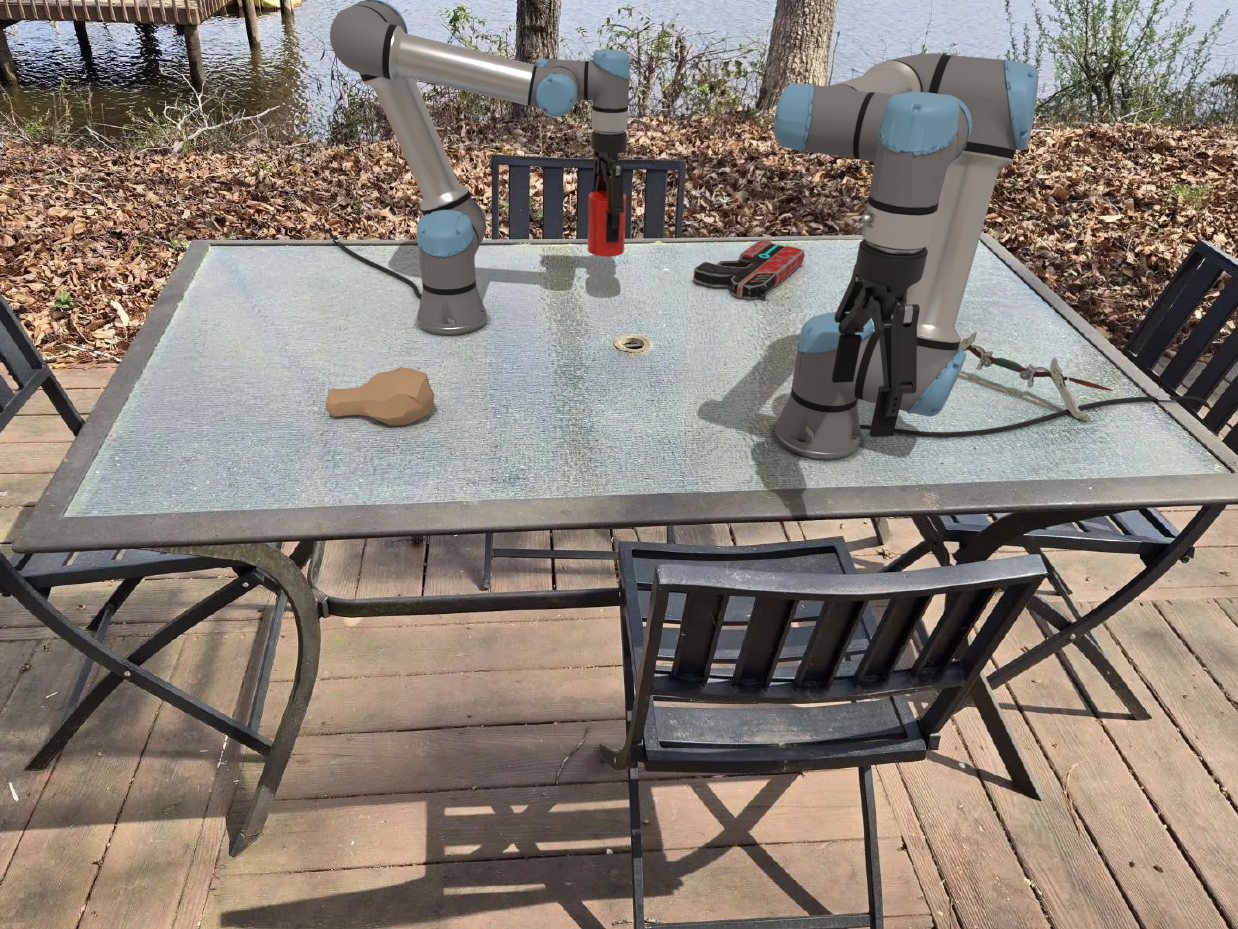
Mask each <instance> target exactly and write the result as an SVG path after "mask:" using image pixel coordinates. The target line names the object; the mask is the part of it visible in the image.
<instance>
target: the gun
mask: <svg viewBox="0 0 1238 929" xmlns="http://www.w3.org/2000/svg"><path fill="white" fill-rule="evenodd" d="M805 256H806V255H805V249H801V248H798V247H794V246H791V245H782V244H781V245H780V244H776V243H772V240H767V239H759V240H757V241H756V242H754V243H753V244H752V245H750V246H749V247H748V248H746V249H745V250H743V251H741V253H740V255H739V256H738V260H736V259H735V260H720V261H719V262H717V263H712V262H709V261H706V260H705V261H704V262H702V263H701V264H699V265H697V266H696V267H693V279H692V281H694V282H696V283H697V284H702V285H703V286H708V287H713V288H714V287H715V288H729V293H730V294H731V295H732V296H735V297H736V298H737V299H744V300H745V299H746V300H754V299H759V300H762V301H765V300H766V297H767V293H768V292H770V291H771V290H772V289H774V288H776V287H778V286H780V284H781V283H782V282H784V281H785V280H786V279H788V277H789V276H790V275H792V274H793V273H794V272H795V271H796V270H797V269H798V268H799V267H800V266H802V265H803V262H804V259H805Z"/></svg>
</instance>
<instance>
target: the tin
mask: <svg viewBox="0 0 1238 929" xmlns="http://www.w3.org/2000/svg"><path fill="white" fill-rule="evenodd" d="M623 199H624V212H623V213H620V219H619V242H606V228H607V214H606V211H609V209H608V198H607V190H602V191H594V192H592V191H591V192H590V193H589V194H588V198H587V200H588V202H587V204H588V206H587V207H588V208H587V252H588V253H590V254H591V255H594V256H597V257H605V258H611V257H617V256H620V255H622V254H624V252H625V238H626V217H627V216H626V215H627V194H626V193H623ZM616 208H617V207H616Z"/></svg>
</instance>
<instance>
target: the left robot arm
mask: <svg viewBox="0 0 1238 929" xmlns="http://www.w3.org/2000/svg"><path fill="white" fill-rule="evenodd" d="M408 31H409V30H408V26H407V24H406V21H405V19H404V16H402V14H401V12H399V11H398V10H397V8H395V6H393V5H392V4H390V3H388V2H386V1H384V0H360V1H359V2H357V3H355V4H353V5H351V6H349V7H346V8H344V9H342V10H341V11H339V12H338V13H337V14H336V16H335V17H334V19H333V20H332V23H331V26H330V29H329V41H330V45H331V49H332V51H333V54H334V55H335V57H336V59H338V61H339V62H340V63H341V64H342V65H344V66H345V67H346V68H348V69H349V70H351V71H354V72H355V73H358V74H359V76H360V79H361V81H362V83H363V84H365V85H367V86H370V87H371V88H373V90H374V92H375V93H376V96H377V99H378V100H379V102H380V105H381V107H382V109H383V112H384V114H385V116H386V118H387V121H388V123H389V125H390V128H391V130H392V132H393V135H394V137H395V139H396V141H397V143H398V145H399V148H400V151H401V152H402V154H403V156H404V159H405V161H406V163H407V166H408V169H409V170H410V172H411V175H412V177H413V179H414V181H415V183H416V186H417V188H418V190H419V192H420V195H421V197H422V199H421V201H420V205H419V209H420V211H421V213H422V217H421V218H420V219H419V220H418V222H417V225H416V237H415V238H416V243H417V247H418V258H419V267H420V275H421V276H420V278H421V284H422V292H421V293H420V290H419V288H418V286H417V284H416V283H414V281H412V280H410V279H409V278H407V277H406V276H403V275H401V274H400V273H397V272H395V271H393V270H391V269H389V268H386V267H385V266H382V265H380V264H378V263H376V262H374V261H371V260H369V259H368V258H366V257H363V256H362V255H360V254H358V253H356V252H354V251H353V250H351V249H349V247H346V246H345V245H344V244H343V243H342V242H340V241H339V239H338V238H337V237H336V236H335V234H334V233H333V232H332V230H331V229H330V228H328V227H327V228H325V230H324V234H328V236H329V237H330V238H331V239H332V240H333V241H334V240H338V241H339V242H336V241H334V242H335V244H336V245H337V246H338V247H339V248H340V249H341V250H343V251H344V252H346V253H347V254H349V255H350V256H351V257H353V258H356V259H357V260H359V261H361V262H362V263H364V264H367V265H369V266H372V267H374V268H376V269H377V270H379V271H382V272H385V273H387V274H388V275H391V276H392V277H394V278H397V279H399V280H400V281H402V282H404V283H406V284H407V285H409V286H411V288H412V289H413V291H414V293H415V295H416V297H417V298H419V299H420V302H419V305H418V310H417V315H416V318H417V325H418V326H419V328H420V329H421V330H423V331H424V332H427V333H430V334H433V335H440V336H459V335H465V334H469V333H473V332H476V331H477V330H480V329H481V328H483V327H484V326H485V325H486V323H487V320H488V316H487V310H486V306H485V304H484V302H483V299H482V298H481V295H480V293H479V291H478V288H477V278H476V277H477V276H476V262H475V259H476V258H475V257H476V255H477V252H478V250H479V248H480V246H481V244H482V243H483V241H484V239H485V235H486V230H487V220H486V216H485V215H486V214H485V212H484V210H483V209H482V207H481V206H480V204H479V203H478V202H477V201H475V200H474V199H473V197H472V195H471V192H470V189H469V188H468V187H467V186H465V185H463V184H461V183H460V182H459V181H458V179H457V176H456V174H455V171H454V169H453V166H452V164H451V162H450V160H449V157H448V155H447V153H446V150H445V147H444V146H443V143H442V140H441V138H440V135H439V133H438V131H437V129H436V126H435V124H434V122H433V119H432V117H431V114H430V113H429V110H428V107H427V104H426V103H425V100H424V97H423V95H422V93H421V91H420V88H419V85H418V83H417V81H420V82H426V83H429V84H434V85H438V86H443V87H447V88H450V89H456V90H459V91H464V92H468V93H472V94H476V95H480V96H485V97H489V98H493V99H498V100H502V101H506V102H510V103H515V104H519V105H523V106H527V107H528V106H529V107H531V108H535V109H538V110H541V111H542V112H543V113H544V114H545V115H547V116H549V117H551V118H552V117H553V118H554V117H555V118H559V117H564V116H565V115H567V114H568V113H569V112H570V111H571V110H572V109H573V107H574V106H576V105H575V104H576V102H577V101H591V102H592V107H591V128H592V132H591V149H592V150H593V170H592V181H591V182H592V183H591V192H594V191H602V190H607V198H608V209H609V211H606V214H607V228H606V242H619V219H620V213H623V212H624V199H623V194H624V172H625V167H624V165H623V164H621V162H620V159H619V154H620V153H623V152H625V151H626V149H627V141H628V140H627V139H628V133H627V132H626V131H627V129H628V119H630V113H628V112H629V93H630V57H629V55H628V54H627V53H626V51H624V50H623V51H622V50H620V49H619V50H617V49H598V50H596V51H594V53H593V56H592V60H573V59H558V58H553V57H552V58H539V59H537V60H536V61H535V64H533V63H529V62H525V61H521V60H516V59H513V58H508V57H505V56H499V55H495V54H492V53H488V52H484V51H480V50H476V49H471V48H468V47H463V46H459V45H455V44H452V43H451V44H450V43H448V42H447V43H446V42H442V41H438V40H435V39H430V38H425V37H422V36H418V35H413V34H410V33H408ZM416 80H417V81H416ZM616 207H617V208H616ZM338 243H340V244H338ZM341 243H342V244H341Z"/></svg>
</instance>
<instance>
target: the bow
mask: <svg viewBox="0 0 1238 929" xmlns="http://www.w3.org/2000/svg"><path fill="white" fill-rule="evenodd" d="M977 334H978V333H977V331H974V332H973V333H972V334H971V335H969V336H968V337H966V338H963V339H961V341H960V344H959V348H958V350H963V352H967V351H969V352H970V353H972V354H973V355H974V356H975V357H976V358H978V359H979V362H978V363H977V364H976V367H975V370H977V371H981V370H982V369H983V367H985V368H990V367H991V366H992V365H995V366H998V367H1000V368H1004V369H1007V370H1009V371H1012V372H1016V373H1019V378H1020V379H1021V380H1023V381H1027V382H1026V384H1027V385H1026V387H1027V388H1029V389H1032V387H1034V383H1035V380H1034V379H1035V378H1050V379H1051V381H1052V382H1053V383H1054V386H1055V387H1056V389H1057V390H1058V392H1059V394H1060V396H1061V399H1062V400H1063V403H1064V405H1065V407H1066V409H1068V410H1069V411H1070V412H1071V413H1068V414H1067V415H1069V416H1072V417H1073V418H1076V419H1077V420H1080V421H1084V422H1086V421H1089V419H1090V418H1091V417H1090V416H1088V414H1086V413H1085V412H1083V411H1082V410H1079V409H1078V406H1079V405H1078V403H1077V400H1076V398H1075V396H1074V395H1073V393H1072V391H1071V389H1070V388H1069V387H1068V386H1067V384H1066V381H1067V380H1068V381H1069V382H1072V383H1075V384H1078V385H1081V386H1084V387H1087V388H1092V389H1095V390H1101V391H1102V390H1103V391H1109V392H1113V391H1114V390H1113V389H1111V388H1110V387H1106V386H1103V385H1101V384H1100V385H1099V384H1097V383H1093V382H1091V381H1088V380H1084V379H1080V378H1075V377H1068V376H1066V375H1065V376H1064V374H1063V371H1062V368H1061V367H1060V366H1059V363H1058V358H1057V357H1053V358H1052V359H1051V362H1050V366H1049V369H1048V368H1047V367H1044V366H1036V367H1035V365H1033V364H1032V363H1030V364H1028V365H1027V366H1025V367H1023V366H1022V365H1021V364H1020V363H1019V362H1016V361H1014V360H1010V359H1007V358H1004V357H994V356H993V355H994V352H993V350H990V351H989V350H987V351H986V350H985V349H984V348H983V347H982V346H980V345H978V344H977V345H976V344H973V343H974V342H975V340H976V339H977V338H976V337H977ZM972 344H973V345H972ZM959 376H960V377H963V378H965V379H968V380H971V381H973V382H976V383H979V384H982V385H985V386H988V387H991V388H993V389H996V390H999V391H1003V392H1005V393H1008V394H1010V395H1014V396H1016V397H1019V398H1022V399H1024V400H1027V401H1030V402H1032V403H1036V404H1039V405H1042V406H1045V407H1047V408H1050V409H1052V410H1056V411H1057V412H1060V411H1062V410H1061V409H1059V408H1056V407H1052V406H1050V405H1047V404H1044V403H1042V402H1038V401H1036V400H1033V399H1030V398H1027V397H1025V396H1021V395H1019V394H1016V393H1013V392H1010V391H1007V390H1004V389H1001V388H999V387H996V386H993V385H990V384H987V383H985V382H981V381H979V380H976V379H973V378H970V377H967V376H965V375H962V374H959V375H958V377H959Z"/></svg>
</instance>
